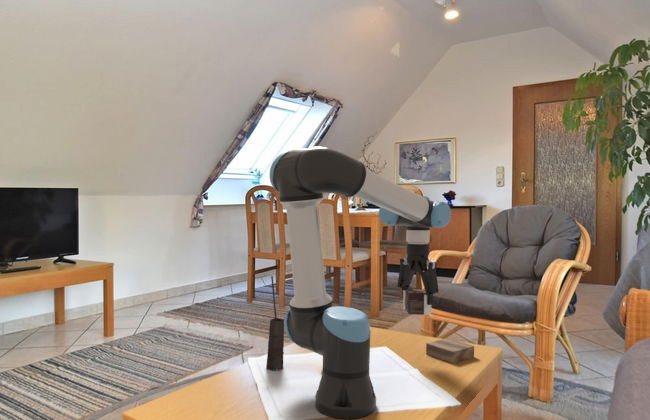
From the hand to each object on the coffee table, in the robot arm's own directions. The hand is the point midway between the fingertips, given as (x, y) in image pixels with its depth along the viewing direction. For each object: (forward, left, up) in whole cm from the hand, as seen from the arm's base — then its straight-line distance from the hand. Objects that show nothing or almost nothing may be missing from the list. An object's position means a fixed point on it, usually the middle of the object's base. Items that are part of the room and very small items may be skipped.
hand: (416, 311), depth 149 cm
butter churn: (-42, +18, -15) cm, 48 cm away
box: (0, 0, -1) cm, 1 cm away
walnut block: (+11, -5, -16) cm, 20 cm away
